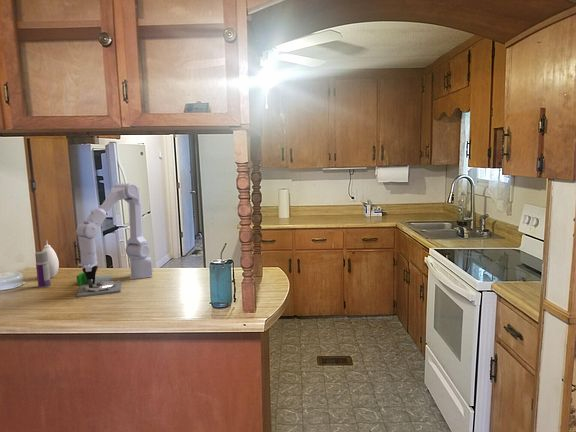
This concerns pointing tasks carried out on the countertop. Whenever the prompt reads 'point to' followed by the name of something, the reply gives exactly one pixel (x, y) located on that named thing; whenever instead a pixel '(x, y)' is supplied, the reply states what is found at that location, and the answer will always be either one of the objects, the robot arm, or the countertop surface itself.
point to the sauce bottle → (51, 260)
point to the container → (42, 269)
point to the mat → (103, 278)
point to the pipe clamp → (81, 279)
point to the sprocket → (99, 285)
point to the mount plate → (90, 293)
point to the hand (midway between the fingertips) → (91, 284)
